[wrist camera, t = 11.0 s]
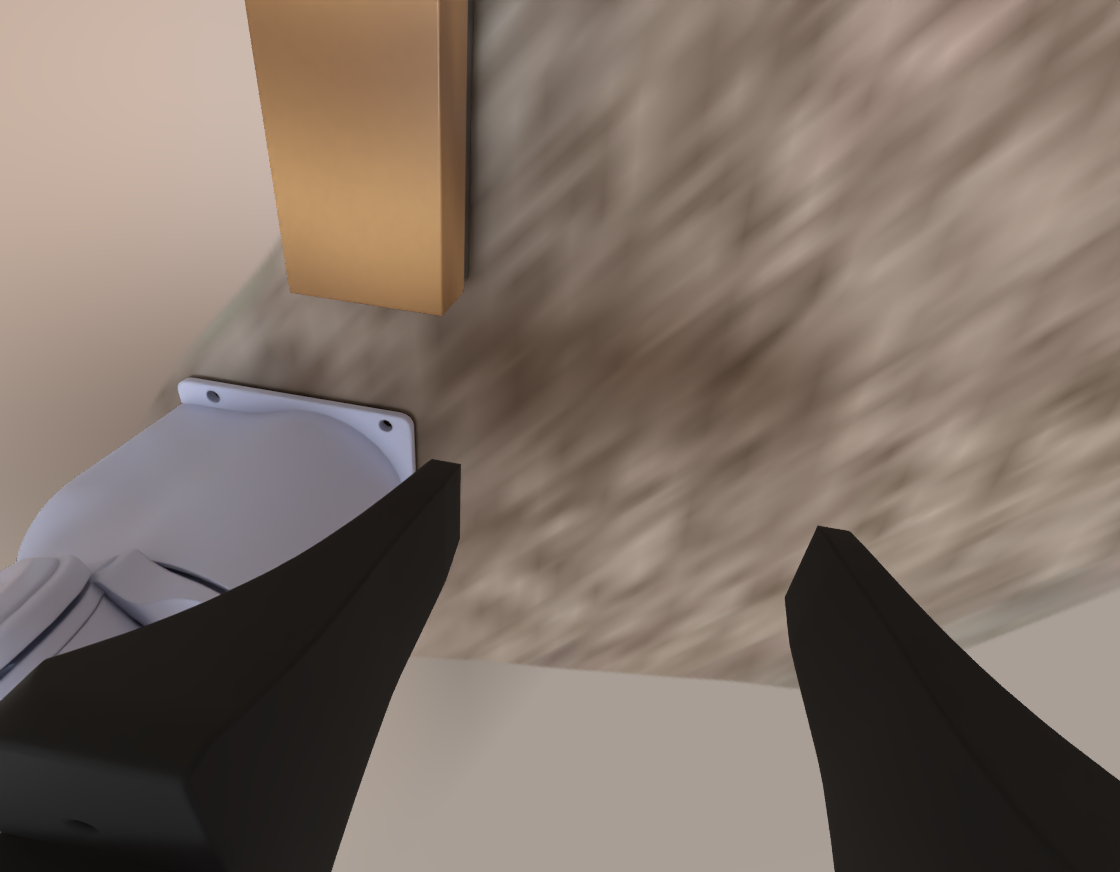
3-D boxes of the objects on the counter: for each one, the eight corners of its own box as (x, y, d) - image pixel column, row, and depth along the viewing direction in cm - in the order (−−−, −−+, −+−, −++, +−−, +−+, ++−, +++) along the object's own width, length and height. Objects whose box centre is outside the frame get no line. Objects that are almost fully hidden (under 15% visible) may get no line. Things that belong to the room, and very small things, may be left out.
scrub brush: (476, 278, 19) (442, 317, 16) (346, 259, 20) (289, 293, 16) (488, -193, 13) (438, -271, 10) (300, -211, 14) (198, -291, 11)
